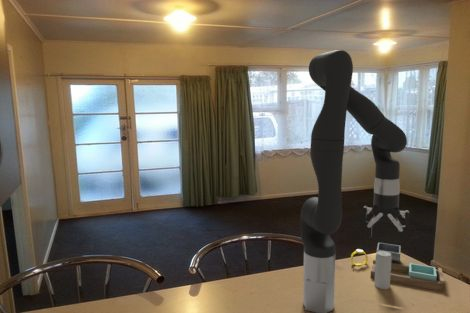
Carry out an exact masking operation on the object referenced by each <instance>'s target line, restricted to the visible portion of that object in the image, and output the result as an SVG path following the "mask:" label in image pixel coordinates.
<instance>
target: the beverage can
mask: <svg viewBox="0 0 470 313" xmlns="http://www.w3.org/2000/svg"><path fill="white" fill-rule="evenodd" d="M391 259H392V256H391V253H390V252H388V251H383V250H380V251H377V250H376V253H375V260H376V261H375V279H374V286H375V287H376V288H378V289H381V290H389V289H390V287H391V282H390V277H391V274H392V270H391Z"/></svg>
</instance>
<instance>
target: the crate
mask: <svg viewBox="0 0 470 313" xmlns="http://www.w3.org/2000/svg"><path fill="white" fill-rule="evenodd" d="M408 265H409V273H408V277H414V278H419V279H425V280H431V281H436V282H437V280H438V278H437V275H436V270H437V269H436V266H431V265H430V266H429V265H424V264H417V263H412V262H409V264H408Z"/></svg>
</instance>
